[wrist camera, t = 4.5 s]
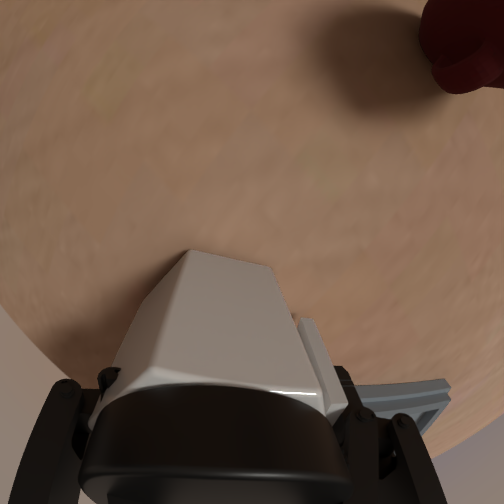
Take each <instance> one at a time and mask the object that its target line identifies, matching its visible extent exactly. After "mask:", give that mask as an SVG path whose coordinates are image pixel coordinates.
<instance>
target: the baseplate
mask: <svg viewBox="0 0 504 504" xmlns="http://www.w3.org/2000/svg"><path fill="white" fill-rule="evenodd" d="M354 387H355V388H356V390H357V393H358V395H359V397H360V399H361V402H362V404H363V406H364V407H367V408H369V409H371V410H372V411H373V412H374V413H375V414H376V417H380V418H386V419H391V418H392V417H393V416H394V415H395V414H397V413H405V414H407V415H409V416H410V417H412V418H413V420H414V421H415V423H416V426H417V428H418V430H419V432H420V435H421V436H422V435H423V434H424V433H425V432H426V431H427V429H428V428H429V427H430V426H431V425H432V424H433V422H434V421H435V420H436V419H437V418H438V416H439V415H440V414H441V413H442V411H443V410H444V409H445V407H446V406H447V405H448V403H449V402H450V401H451V398H450V397H449V396H448V394H447V393H448V392H449V390H450V389H451V386H450V385H449V384H448V383H447V381H446V380H445V379H438V380H430V381H422V382H412V383H401V384H387V385H364V386H354ZM394 454H395V451H394ZM395 456H396V454H395Z"/></svg>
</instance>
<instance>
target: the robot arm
mask: <svg viewBox="0 0 504 504" xmlns="http://www.w3.org/2000/svg"><path fill="white" fill-rule="evenodd" d="M297 330H298V333H299V335H300V337H301V340H302V342H303V345H304V347H305V350H306V352H307V354H308V357H309V359H310V362H311V364H312V367H313V369H314V372H315V374H316V377H317V379H318V381H319V384H320V386H321V389H322V392H323V399H324V406H325V413H326V418H327V419H328V421H329V422H330V424H331V426H332V428H333V430H334V433H335V436H336V438H337V441H338V443H339V446H340V447H341V446H342V447H343V450H344V455H346V458H347V461H348V463H349V473H350V475H351V478H352V481H353V484H354V491H353V494H352V496H351V498H350V499H348V500H346V501H343V502H341V503H340V504H447V501H446V498H445V496H444V492H443V490H442V487H441V484H440V482H439V479H438V476H437V474H436V471H435V469H434V466H433V463H432V461H431V458H430V456H429V454H428V451H427V449H426V446H425V444H424V442H423V439H422V437H421V435H420V432H419V430H418V428H417V426H416V423H415V421H414V420H413V418H412V417H410V416H409V415H407V414H405V413H397V414H395V415H394V416H393V417H392V418H391V419H386V418H380V417H376V414H375V413H374V412H373V411H372V410H371V409H369V408H367V407H364V406H363V404H362V402H361V399H360V397H359V395H358V393H357V390H356V388H355V387H354V384H353V382H352V381H351V377H350V375H349V373H348V372H347V371H346V370H345V369H344V368H343V367H342V366H333V364H332V362H331V359H330V357H329V355H328V352H327V350H326V348H325V345H324V343H323V341H322V338H321V336H320V334H319V331H318V329H317V327H316V324H315V322H314V320H313V319H310V318H302V317H301V318H300V322H299V325H298V328H297ZM120 370H121V368H118V367H108V368H106V369H103V370H102V371H101V372H100V373H99V375H98V378H97V379H98V384H99V388H100V389H82V388H81V386H80V385H79V384H78V383H77V382H76V381H74V380H72V379H62V380H59V381H57V382H56V383H55V384H54V385H53V387H52V389H51V391H50V393H49V395H48V397H47V399H46V401H45V403H44V405H43V407H42V410H41V412H40V414H39V417H38V419H37V421H36V423H35V425H34V428H33V430H32V433H31V435H30V438H29V440H28V443H27V445H26V448H25V451H24V453H23V456H22V459H21V462H20V465H19V467H18V470H17V474H16V477H15V480H14V483H13V487H12V490H11V494H10V498H9V501H8V504H78V499H79V494H80V489H81V487H80V485H79V482H78V474H79V470H80V467H81V464H82V461H83V457H84V454H85V451H86V448H87V445H88V442H89V439H90V436H91V433H92V431H91V430H90V428H89V427H88V420H89V418H90V416H91V415H92V414H93V411H94V409H95V406H96V404H97V401H98V399H99V396H100V394H101V401H102V399H103V396H104V394H105V391H106V389H107V388H108V389H109V388H110V386H111V385H112V384H113V383H114V382H115V381H116V380H117V377H118V375H119V374H118V372H119V371H120ZM394 451H395V454H396V456H395V454H394ZM107 499H108V504H144V503H140V502H135V501H131V500H127V499H123V498H119V497H116V496H112V495H109V494H107Z"/></svg>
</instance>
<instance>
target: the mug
mask: <svg viewBox="0 0 504 504" xmlns="http://www.w3.org/2000/svg"><path fill="white" fill-rule="evenodd" d="M419 40H420V44H421V47H422V49H423V51H424V53H425V54H426V56H427V57H428V59H429V60H430V61H431V62H432V64H433V66H432V69H431V70H432V75H433V78H434V79H435V81H436V82H437V84H438V85H439V86H440V87H441V88H442V89H443V90H444V91H446V92H447V93H451V94H463V93H468V92H471V91H474V90H476V89H479V88H481V87H483V86H484V87H493V88H503V89H504V0H428V2H427V3H426V5H425V7H424V10H423V13H422V18H421V24H420V29H419Z"/></svg>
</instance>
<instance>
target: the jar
mask: <svg viewBox="0 0 504 504" xmlns="http://www.w3.org/2000/svg"><path fill="white" fill-rule="evenodd" d="M111 367H118V368H121V370H120V371H119V372H118V374H119V375H118V377H117V380H116V381H115V382H114V383H113V384H112V385H111V386H110V388H109V389H108V388H107V389H106V391H105V394H104V396H103V399H102V401H101V394H100V396H99V399H98V401H97V404H96V406H95V409H94V411H93V414H92V415H91V416H90V418H89V420H88V427H89V428H90V430H91V431H92V433H91V436H90V439H89V442H88V445H87V448H86V451H85V454H84V457H83V461H82V464H81V467H80V470H79V474H78V482H79V485H80V487H81V489H82V490H83V492H84V493H85V494H86V495H87V496H88V497H89V498H90V499H91V500H92V501H94V502H95V503H96V504H108V499H107V494H109V495H112V496H116V497H119V498H123V499H127V500H131V501H135V502H140V503H144V504H340V503H341V502H343V501H346V500H348V499H350V498H351V496H352V494H353V491H354V484H353V481H352V478H351V475H350V473H349V463H348V461H347V458H346V455H344V450H343V447H342V446H341V447H340V446H339V443H338V441H337V438H336V436H335V433H334V430H333V428H332V426H331V424H330V422H329V421H328V419H327V418H326V413H325V406H324V399H323V392H322V389H321V386H320V384H319V381H318V379H317V377H316V374H315V372H314V369H313V367H312V364H311V362H310V359H309V357H308V354H307V352H306V350H305V347H304V345H303V342H302V340H301V337H300V335H299V333H298V330H297V328H296V325H295V323H294V321H293V318H292V316H291V313H290V311H289V308H288V306H287V304H286V301H285V299H284V296H283V294H282V292H281V289H280V287H279V285H278V282H277V280H276V277H275V275H274V273H273V270H272V269H271V268H270V267H269V266H264V265H260V264H255V263H250V262H246V261H241V260H237V259H232V258H228V257H223V256H219V255H215V254H210V253H206V252H201V251H197V250H189V251H187V252H186V253H185V255H184V256H183V257H182V258H181V259H180V260H179V261H178V262H177V263H176V264H175V265H174V267H173V268H172V269H171V270H170V271H169V272H168V273H167V274H166V275H165V276H164V278H163V279H162V280H161V281H160V282H159V283H158V284H157V285H156V286H155V288H154V289H153V290H152V291H151V292H150V293H149V294H148V296H147V297H146V298H145V299H144V300H143V301H142V303H141V305H140V307H139V309H138V311H137V313H136V315H135V317H134V319H133V321H132V323H131V325H130V327H129V329H128V331H127V333H126V335H125V337H124V339H123V341H122V344H121V346H120V348H119V350H118V352H117V354H116V356H115V359H114V361H113V363H112V365H111Z"/></svg>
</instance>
